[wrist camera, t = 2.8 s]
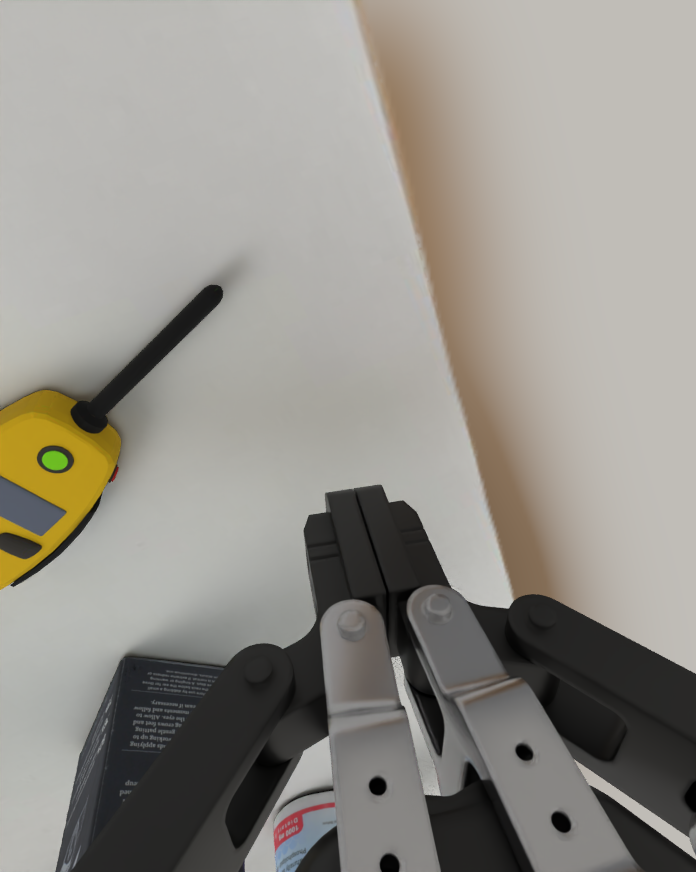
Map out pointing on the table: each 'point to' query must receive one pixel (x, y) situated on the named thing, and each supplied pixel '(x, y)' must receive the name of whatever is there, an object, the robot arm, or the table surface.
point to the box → (128, 742)
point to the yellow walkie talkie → (68, 455)
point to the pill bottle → (302, 828)
